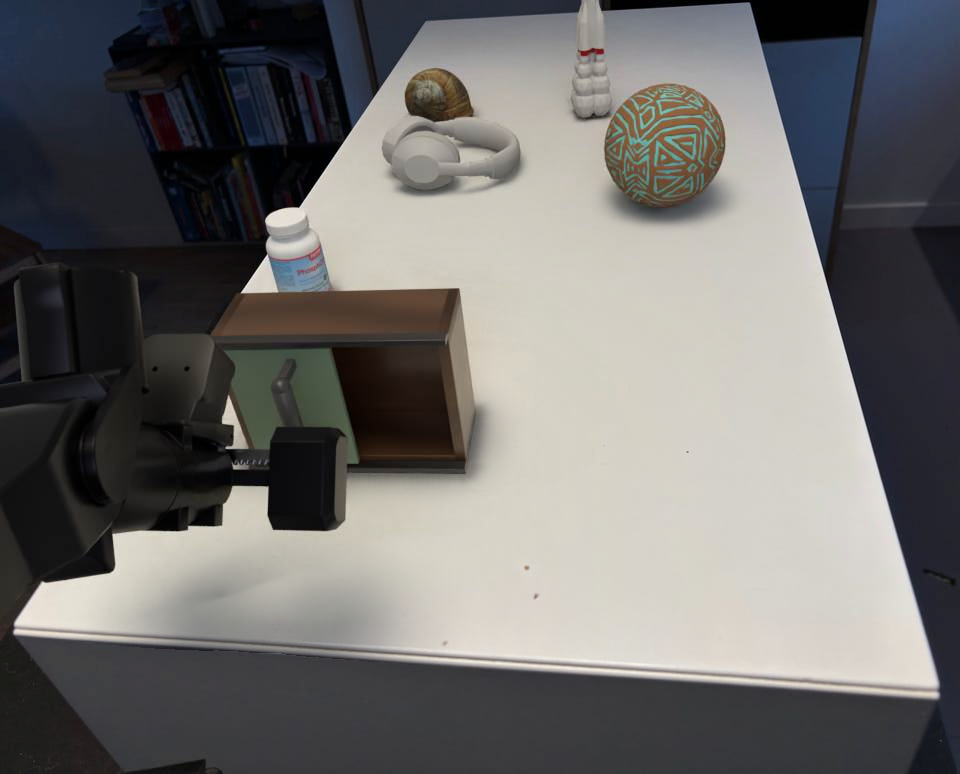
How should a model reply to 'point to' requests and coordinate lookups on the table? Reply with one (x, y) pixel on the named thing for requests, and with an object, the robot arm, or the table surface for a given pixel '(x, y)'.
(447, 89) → the seashell
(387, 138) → the headphones
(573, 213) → the table surface
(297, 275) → the pill bottle
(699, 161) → the decorative sphere
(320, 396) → the sliding door
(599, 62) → the rocket model
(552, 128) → the table surface
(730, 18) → the table surface
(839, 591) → the table surface
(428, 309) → the cupboard
